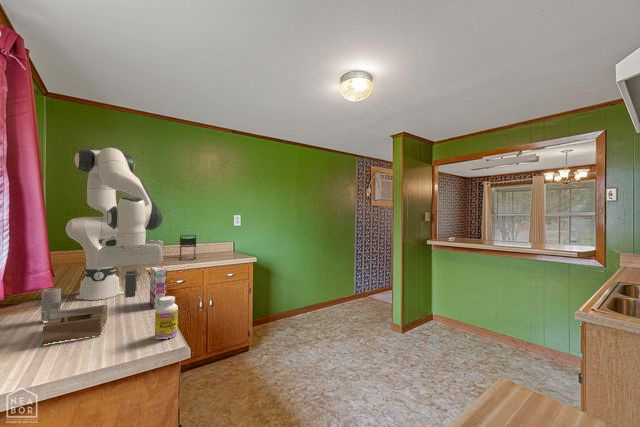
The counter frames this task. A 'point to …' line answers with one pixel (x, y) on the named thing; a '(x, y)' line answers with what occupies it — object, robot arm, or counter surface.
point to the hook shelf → (74, 323)
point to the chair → (187, 242)
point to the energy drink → (49, 301)
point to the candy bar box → (157, 285)
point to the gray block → (130, 283)
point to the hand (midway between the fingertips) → (131, 277)
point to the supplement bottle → (166, 318)
